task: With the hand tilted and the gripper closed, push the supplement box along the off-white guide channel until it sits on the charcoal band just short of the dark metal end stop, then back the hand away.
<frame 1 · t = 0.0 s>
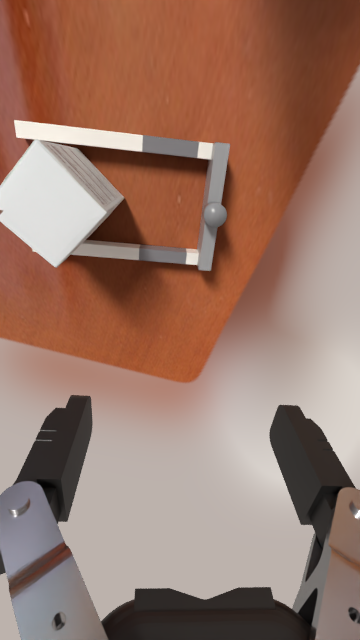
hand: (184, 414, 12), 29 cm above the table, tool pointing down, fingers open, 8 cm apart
supplement box: (83, 195, 35), on the table
guide channel: (125, 199, 35), on the table
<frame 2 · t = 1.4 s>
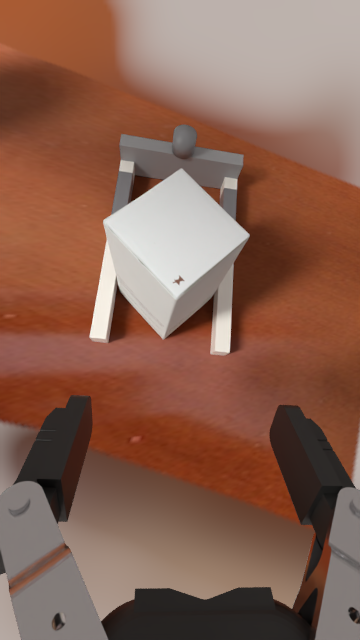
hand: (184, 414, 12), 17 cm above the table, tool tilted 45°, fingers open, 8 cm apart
supplement box: (165, 294, 32), on the table
guide channel: (170, 252, 33), on the table
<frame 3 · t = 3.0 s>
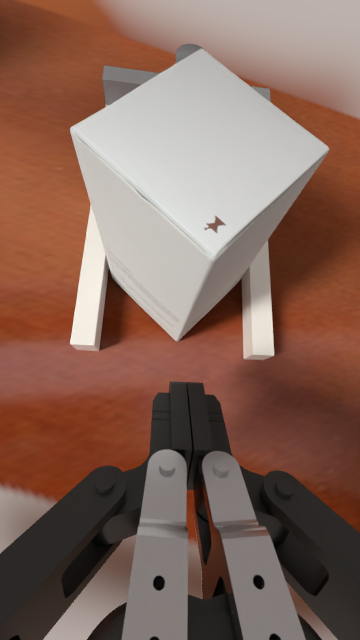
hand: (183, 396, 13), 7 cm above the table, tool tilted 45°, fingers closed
supplement box: (176, 280, 23), on the table
guide channel: (178, 224, 24), on the table
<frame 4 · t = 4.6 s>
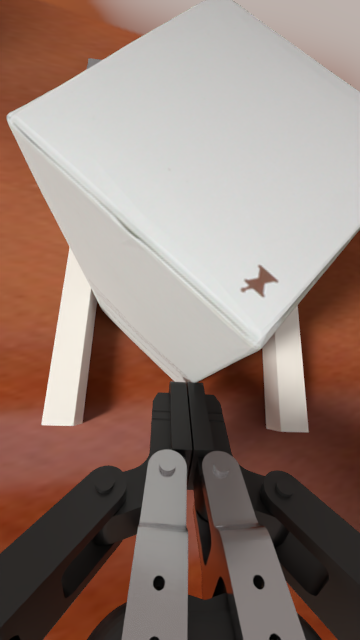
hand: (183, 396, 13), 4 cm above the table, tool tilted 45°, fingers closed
supplement box: (180, 309, 19), on the table, touching gripper
guide channel: (182, 253, 20), on the table
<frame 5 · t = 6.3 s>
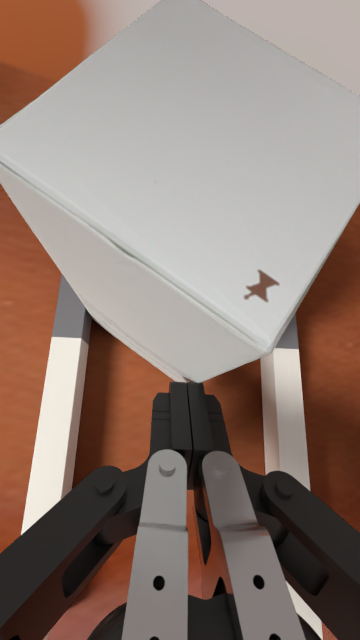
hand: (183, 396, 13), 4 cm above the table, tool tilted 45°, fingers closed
supplement box: (172, 309, 19), on the table, touching gripper, guide channel
guide channel: (175, 383, 17), on the table
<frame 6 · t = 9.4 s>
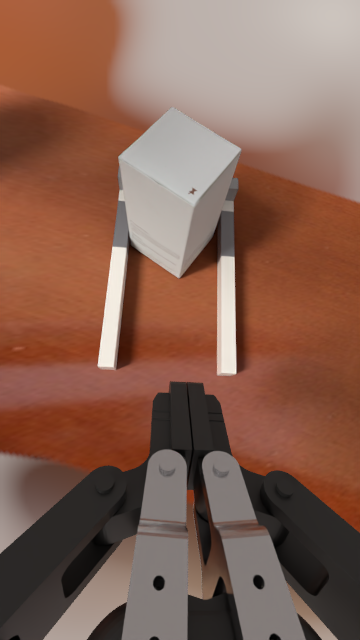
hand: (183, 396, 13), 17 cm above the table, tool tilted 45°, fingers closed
supplement box: (172, 241, 35), on the table
guide channel: (172, 276, 33), on the table
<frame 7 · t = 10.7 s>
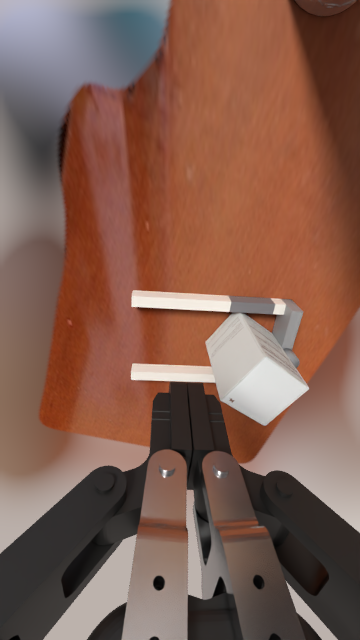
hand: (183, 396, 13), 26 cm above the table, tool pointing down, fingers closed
supplement box: (238, 336, 43), on the table
guide channel: (207, 337, 43), on the table
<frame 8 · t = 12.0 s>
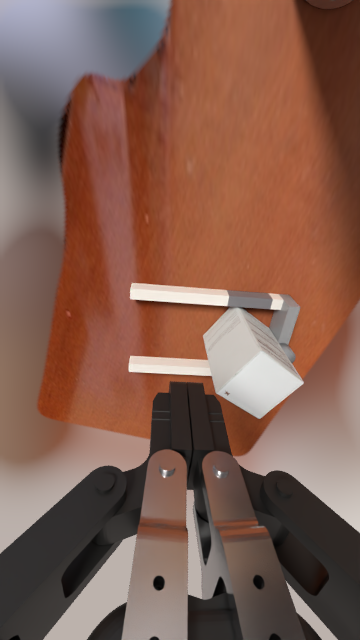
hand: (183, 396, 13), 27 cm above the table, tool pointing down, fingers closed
supplement box: (235, 330, 44), on the table
guide channel: (205, 331, 43), on the table
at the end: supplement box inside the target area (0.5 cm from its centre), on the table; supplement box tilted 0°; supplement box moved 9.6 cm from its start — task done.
